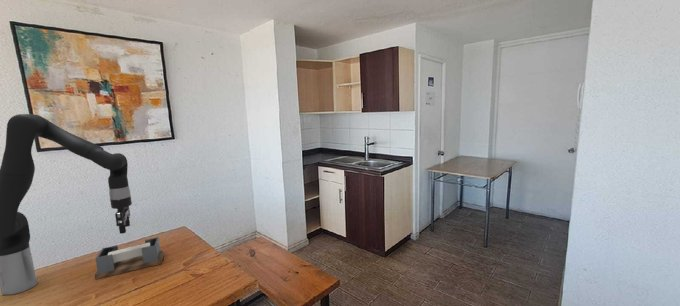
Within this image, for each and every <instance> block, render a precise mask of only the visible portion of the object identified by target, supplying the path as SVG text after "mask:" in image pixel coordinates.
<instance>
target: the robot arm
mask: <svg viewBox="0 0 680 306" xmlns="http://www.w3.org/2000/svg"><path fill="white" fill-rule="evenodd" d="M5 133H6V134H5V146H4V152H3V155H2V160H1V165H0V293H1V296H5V295H6V296H11V295H12V296H13V295H15V294H19V293H23V292H26V291H28V290H31V289H32V288H33V287H35V286H36V285H37V284H38V278H37V274H36V270H35V265H34V260H33V256H32V255H33V254H32V252H31V246H30V241H31V231H30V225H29V221H28V219H27V217H26V215H25V214H24V213H22V212H20V211H19V207H20V205H21V203H22V200H23V199H25V197H26V195H27V193H28V191H29V190H30V188H31V186H32V184H33V180H34V176H35V171H36V170H35V169H36V167H35V163H34V162H35V161H34V159H33V154H32V150H33V145H34V141H35V138H36V137H39V138H42V139H46V140H49V141H52V142H54V143H55V144H58V145H60V146H61V147H63V148H64V149H65V150H68V151H69V152H70V153H73V154H74V155H77V156H79V157H82V158H84V159H86V160H89V161H92V162H93V163H94V164H96V165H98V166H100V168H101V167H102V168H103V169H105V170H109V175H108V178H107V182H108V183H107V184H108V188H109V189H108V191H109V193H108V194H109V201H110V207H111V208H112V209H114V210H115V209H116V212H115V214H114V216H115V222H116V223H115V225H116V227H118V229H119V230H118V231H119V235H121V234H126V233H127V229H126V227H130V226H131V223H130V218H131V211H130V206H131V205H132V204H133V203H132V202H133V201H132V195H131V189H130V186H129V179H128V167H129V166H128V159H127V157H126V156H125V154H123V153H120V152H118V153H116V152H115V153H110V152H108V151H106V150H104V148H103V147H102V146H101V145H98V144H96V143H94V142H92V141H89V140H86V139H84V138H82V137H80V136H77V135H76V134H73V133H71V132H69V131H67V130H65V129H63V128H61V127H60V126H58V125H56V124H55V123H53V122H51V121H50V120H48V119H47V118H45V117H43V116H41V115H38V114H33V113H20V114H16V115H15V114H14V115H13V116H12V117H10V118H9V120H8V121H7V124H6V132H5Z"/></svg>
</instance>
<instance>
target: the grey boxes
mask: <svg viewBox="0 0 680 306" xmlns="http://www.w3.org/2000/svg"><path fill="white" fill-rule="evenodd" d="M149 242H150V247H145V248H142V255H143V262H144V263H149V262H153V261H157V260H158V259H159V255H160V252H161V250H162V249H161V244H160V243H161V242H160V237H158V236H157V237H153V238H148V239H145V240H144V244H145V243H149ZM116 250H119V246H118V245H111V246H107V247H102V249H100V251H99V252H98V254H97V255H96V257H95V263H96V270H97V271H98V274H101V273H105V272H109V271H114V270H115V268H116V266H117V265H118V263H119V262H115V263H114V261H113V255H112V254H111V255H108V252H112V251H116ZM97 271H96V272H97Z"/></svg>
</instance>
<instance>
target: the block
mask: <svg viewBox="0 0 680 306" xmlns="http://www.w3.org/2000/svg"><path fill="white" fill-rule="evenodd" d="M145 247H150V242H149V243H145V242H144V243H142V244H138V245H133V246H129V247H124V248H122V249H118V250H116V251H112V252H108V255H111V254H112V255H113V261H114V263H115V262H119V261H123V260H126V259H130V258H134V257H138V256H142V248H145Z"/></svg>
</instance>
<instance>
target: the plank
mask: <svg viewBox="0 0 680 306" xmlns="http://www.w3.org/2000/svg"><path fill="white" fill-rule="evenodd" d="M164 255H165V251H164V249H161V252H160V255H159V259H158V260H157V261H153V262H149V263H144V262H143V255H142V256H138V257H134V258H130V259H126V260H123V261H119V263H118V265H117V266H116V268H115V270H114V271H109V272H105V273H101V274H98V271H96V272H95V274H94V279H95V280H98V279H101V278H107V277H110V276H111V277H112V276H115V275H118V274H123V273H124V274H125V273H127V272H132V271H136V270H140V269H145V268H149V267H152V266H153V267H154V266H156V265H161V264H162V263H163V260H164Z"/></svg>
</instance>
